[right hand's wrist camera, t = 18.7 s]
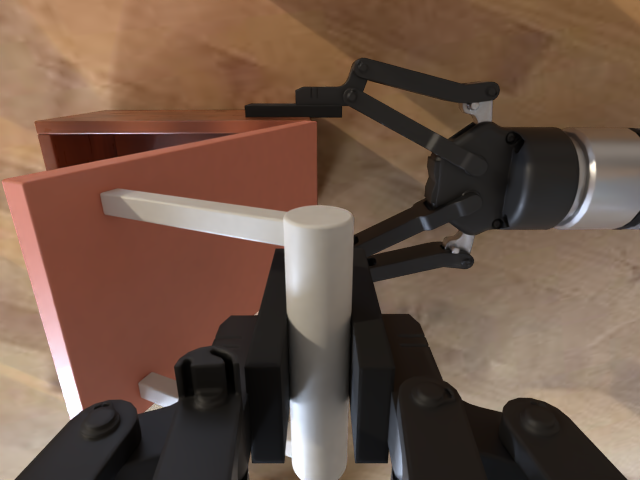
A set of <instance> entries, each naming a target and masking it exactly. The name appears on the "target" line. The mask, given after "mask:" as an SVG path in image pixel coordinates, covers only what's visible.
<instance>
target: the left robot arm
mask: <svg viewBox="0 0 640 480" xmlns="http://www.w3.org/2000/svg"><path fill="white" fill-rule="evenodd" d="M367 80H369V81H372V82H376V83H380V84H384V85H388V86H391V87H395V88H399V89H403V90H407V91H410V92H414V93H418V94H422V95H425V96H429V97H433V98H437V99H441V100H445V101H451V102H456V103H458V106H459V109H460V111H461V112H463V113H466V114H470V115H471V116H472V118H473V122H472V123H471V124H469V125H468V126H466V127H465V128H463V129H462V130H461V131H459V132H458V133H456V134H455V135H453V136H452V137H450V138H449V139H446V138H444V137H443V136H441V135H439V134H437V133H435V132H433V131H431V130H430V129H428V128H426V127H424V126H423V125H421V124H419V123H417V122H415V121H414V120H412V119H410V118H408V117H407V116H405V115H403V114H401V113H399V112H398V111H396V110H394V109H392V108H390V107H389V106H387V105H385V104H383V103H382V102H380V101H378V100H376V99H374V98H373V97H371V96H369V95H367V94H366V93H364V92H363V90H364V88H365V85H366V83H367ZM295 92H296V104H248V105H245V117H342V106H350V107H352V108H353V109H355V110H357V111H359V112H361V113H363V114H364V115H366V116H368V117H370V118H372V119H373V120H375V121H377V122H379V123H381V124H383V125H384V126H386V127H388V128H390V129H392V130H393V131H395V132H397V133H399V134H401V135H402V136H404V137H406V138H408V139H410V140H412V141H413V142H415V143H417V144H419V145H421V146H422V147H424V148H426V149H428V150H430V151H431V152H432V154H431V156H428V163H427V168H428V174H429V178H428V181H427V183H426V186H425V194H424V196H425V197H426V198H425V199H423V200H421V201H419V202H417V203H415V204H414V205H413V207H411V208H409V209H407V210H405V211H403V212H401V213H399V214H397V215H395V216H393V217H391V218H389V219H386V220H384V221H382V222H380V223H378V224H376V225H374V226H372V227H370V228H368V229H366V230H364V231H361V232H359V233H357V234H355V235H354V243H353V248H364V250H365V253H366V257H367V261H368V265H369V269H370V272H371V276H372V280H373V282H376V281H381V280H385V279H390V278H395V277H399V276H404V275H408V274H413V273H418V272H422V271H427V270H431V269H436V268H441V267H450V268H460V269H468V268H470V267H471V266H472V265H473V264H474V259H473V257H472V256H471V255H470V252H471V248H472V244H473V240H474V237H475V235H477V234H480V233H482V232H484V231H486V230H490V229H501V230H546V229H551V228H555V229H559V230H586V229H640V128H639V129H635V128H565V129H562V130H561V129H559V128H554V127H500V126H498V125H497V124H495V123H493V122H492V105H493V100H494V99H496V98H497V96H498V95H499V92H500V88H499V86H498V84H497V83H495V82H470V83H462V84H461V83H457V82H453V81H449V80H446V79H442V78H438V77H435V76H431V75H427V74H423V73H420V72H416V71H412V70H409V69H405V68H401V67H397V66H394V65H390V64H386V63H382V62H379V61H375V60H371V59H368V58H360V59H358V60H356V61H355V62H354V63H353V64H352V66H351V70H350V73H349V76H348V78H347V81H346V82H345V83H344V84H343V85H342V86H339V87H302V88H299V89H297V90H295ZM448 222H449V223H450V224H452V225H453V226H454V227H456V228H457V229H458V230H459V231H458V232H457V234H455V235H454V236H449V237H445V238H444V240H443V242H430V243H425V244H420V245H416V246H411V247H407V248H402V249H398V250H393V251H389V252H384V253H380V254H375V253H377V252H379V251H381V250H384V249H386V248H388V247H390V246H392V245H394V244H396V243H399V242H401V241H403V240H405V239H407V238H409V237H411V236H414V235H416V234H418V233H420V232H422V231H425V230H433V229H435V228H437V227H439V226H442V225H444V224H446V223H448ZM373 254H375V255H373Z"/></svg>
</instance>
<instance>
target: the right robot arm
mask: <svg viewBox="0 0 640 480" xmlns="http://www.w3.org/2000/svg"><path fill="white" fill-rule="evenodd" d="M174 371H175V377H176V384H177V390H178V397H179V400H178V402H176V403H174V404H172V405H170V406H167V407H164V408H161V409H157V410H153V411H148V412H144V413H140V414H137V409H136V408H135V406H134V405H133V404H132V403H131V402H128V401H125V400H121V399H120V400H107V401H103V402H99V403H96V404H94V405H92V406H90V407H88V408H86V409H84V410H82V411H81V412H79V413H78V414H77V415H76V416H75V417H73V418H72V419H71V420H70V421H69V422H68V423H67V424H66V425H65V426H64V428H63V429H62V430H61V431H60V432H59V433H58V434H57V435H56V436H55V437H54V438H53V439H52V440H51V441H50V442H49V444H48V445H47V446H46V447H45V448H44V449H43V450H42V451H41V452H40V453H39V454H38V455H37V456H36V457H35V458H34V460H33V461H32V462H31V463H30V464H29V465H28V466H27V467H26V468H25V469H24V470H23V471H22V472H21V473H20V475H19V476H18V477H17V478H16V479H15V480H249V473H248V463H249V457H250V452H251V457H252V463H284V462H285V451H286V440H287V429H288V418H289V408H290V373H289V344H288V315H287V306H286V279H285V251H284V248H275V252H274V256H273V260H272V264H271V268H270V271H269V275H268V279H267V283H266V287H265V290H264V294H263V298H262V302H261V306H260V309H259V313H258V315H231V316H230V317H229V318H227V319H226V320H225V321H224V322H223V323H222V324H221V325H220V326H219V329H218V331H217V334H216V336H215V339H214V341H213V343H212V346H207V347H200V348H197V349H195V350H192V351H190V352H188V353H186V354H185V355H184V356H182V357H181V358H179V360H178V361H177V363H176V364H175V366H174ZM349 400H350V411H351V422H352V433H353V444H354V455H355V463H388V453H389V452H390V457H391V463H392V473H391V480H627V479H626V478H625V477H624V476H623V474H622V473H621V472H620V471H619V470H618V469H617V468H616V467H615V466H614V465H613V464H612V463H611V462H610V461H609V460H608V459H607V458H606V456H605V455H604V454H603V453H602V452H601V451H600V450H599V449H598V448H597V447H596V446H595V445H594V444H593V443H592V442H591V441H590V439H589V438H588V437H587V436H586V435H585V434H584V433H583V432H582V431H581V430H580V429H579V428H578V427H577V426H576V425H575V424H574V422H573V421H572V420H571V419H570V418H569V417H568V416H566V415H565V414H564V413H563V412H561V411H560V410H559V409H558V408H556V407H554V406H552V405H550V404H548V403H546V402H543V401H540V400H536V399H532V398H516V399H513V400H510V401H508V403H507V404H506V405H505V406H504V407H503V412H498V411H494V410H490V409H485V408H481V407H478V406H475V405H472V404H469V403H467V402H465V401H463V400H462V399H461V397H460V395H459V394H458V392H457V390H456V389H455V388H453V387H452V386H451V385H450V384H449V383H447V382H445V381H443V379H442V377H441V374H440V372H439V369H438V367H437V364H436V362H435V360H434V357H433V355H432V352H431V350H430V347H428V342H427V340H426V338H425V336H424V333H423V330H422V328H421V325H420V324H419V323H418V322H417V321H416V320H415V319H414V318H413V317H412V316H410V315H409V314H381V311H380V307H379V303H378V299H377V295H376V292H375V288H374V284H373V280H372V276H371V272H370V269H369V265H368V261H367V257H366V253H365V250H364V248H353V276H352V310H351V344H350V377H349Z"/></svg>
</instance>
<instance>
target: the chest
mask: <svg viewBox="0 0 640 480" xmlns="http://www.w3.org/2000/svg"><path fill="white" fill-rule="evenodd" d="M300 121H311V118H310V117H245V110H105V111H98V112H92V113H85V114H79V115H72V116H66V117H59V118H53V119H46V120H40V121H35V126H36V130H37V133H38V138H39V142H40V146H41V151H42V155H43V159H44V163H45V167H46V171H49V170H54V169H59V168H64V167H69V166H74V165H79V164H85V163H90V162H95V161H100V160H105V159H110V158H115V157H121V156H126V155H131V154H136V153H141V152H146V151H151V150H156V149H162V148H167V147H172V146H177V145H182V144H187V143H192V142H198V141H203V140H208V139H213V138H218V137H223V136H228V135H234V134H239V133H244V132H249V131H254V130H259V129H264V128H270V127H275V126H280V125H285V124H290V123H295V122H300Z"/></svg>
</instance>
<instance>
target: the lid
mask: <svg viewBox="0 0 640 480" xmlns="http://www.w3.org/2000/svg"><path fill="white" fill-rule="evenodd" d="M2 184H3V187H4V191H5V194H6V198H7V201H8V205H9V208H10V212H11V215H12V219H13V222H14V225H15V229H16V232H17V236H18V239H19V243H20V246H21V250H22V253H23V257H24V260H25V264H26V267H27V271H28V274H29V277H30V281H31V284H32V288H33V291H34V295H35V298H36V302H37V305H38V309H39V312H40V316H41V319H42V323H43V326H44V329H45V333H46V336H47V340H48V343H49V347H50V350H51V354H52V357H53V361H54V364H55V368H56V371H57V375H58V378H59V381H60V385H61V388H62V392H63V395H64V399H65V402H66V406H67V409H68V413H69V416H70V420H71V419H72V418H73V417H75V416H76V415H77V414H78V413H79V412H81V411H82V410H84V409H86V408H88V407H90V406H92V405H94V404H96V403H99V402H103V401H107V400H120V399H121V400H125V401H128V402H131V403H132V404H133V405H134V406H135V408H136V409H137V414H140V413H144V412H145V411H146V410H147V409H148V408H149V407H151V406H152V405H153V404H154V403H156V404H158V405H161V406H163V407H167V406H170V405H172V404H174V403H176V402H178V400H179V397H178V390H177V384H176V377H175V371H174V366H175V364H176V363H177V361H178V360H179V358H181V357H182V356H184V355H185V354H186V353H188V352H190V351H192V350H195V349H197V348H200V347H207V346H212V343H213V341H214V339H215V336H216V334H217V331H218V329H219V326H220V325H221V324H222V323H223V322H224V321H225V320H226V319H227V318H229V317H230V316H231V315H254V314H256V313H257V312H258V311H259V309H260V306H261V302H262V298H263V294H264V290H265V287H266V283H267V279H268V275H269V271H270V268H271V264H272V260H273V256H274V252H275V248H284V251H285V279H286V306H287V315H288V344H289V373H290V417H291V422H290V421H288V429H287V440H286V451H285V455H286V456H289V457H291V458H292V465H293V469H294V471H295V473H296V474H297V476H298V477H299V478H300V479H301V480H338V479H339V478H340V477H341V476H342V474H343V473H344V471H345V469H346V466H347V444H348V411H349V377H350V344H351V310H352V276H353V243H354V216H353V214H352V213H351V212H350V211H348V210H346V209H343V208H339V207H335V206H326V205H317V122H316V121H300V122H295V123H290V124H285V125H280V126H275V127H270V128H264V129H259V130H254V131H249V132H244V133H239V134H234V135H228V136H223V137H218V138H213V139H208V140H203V141H198V142H192V143H187V144H182V145H177V146H172V147H167V148H162V149H156V150H151V151H146V152H141V153H136V154H131V155H126V156H121V157H115V158H110V159H105V160H100V161H95V162H90V163H85V164H79V165H74V166H69V167H64V168H59V169H54V170H49V171H43V172H38V173H33V174H28V175H23V176H18V177H13V178H7V179H4V180H2Z"/></svg>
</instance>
